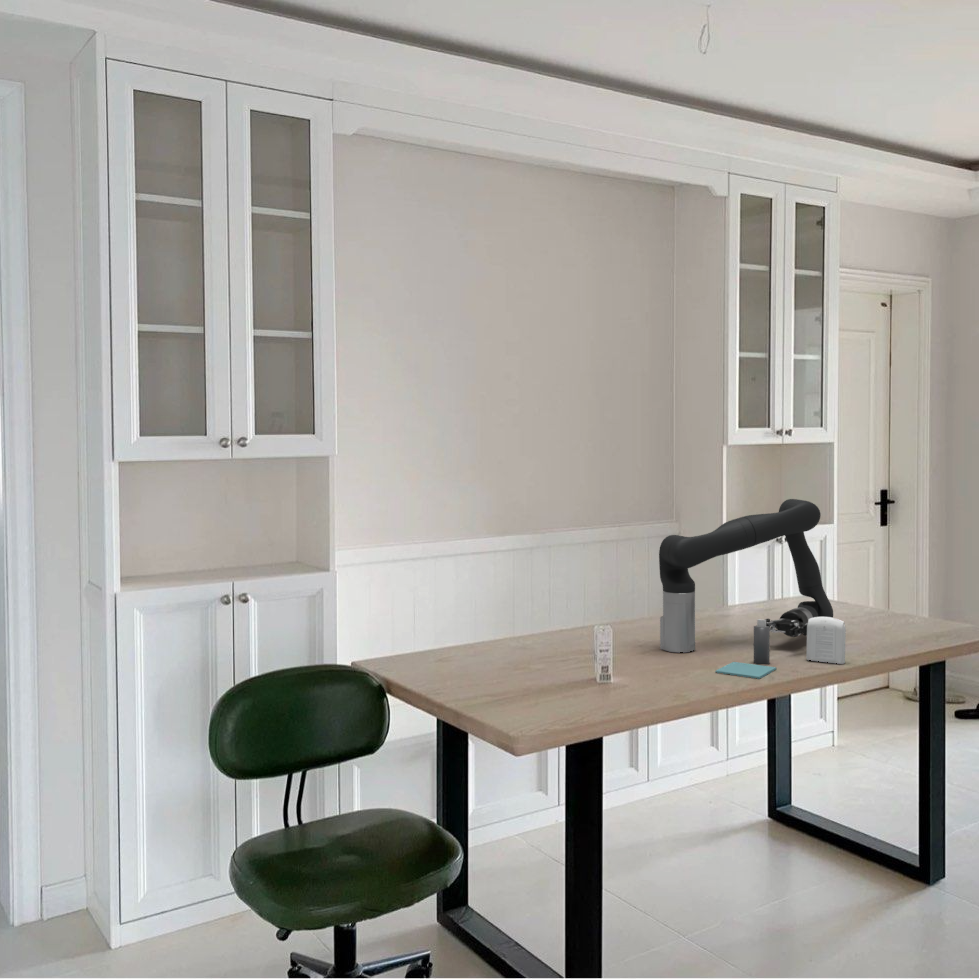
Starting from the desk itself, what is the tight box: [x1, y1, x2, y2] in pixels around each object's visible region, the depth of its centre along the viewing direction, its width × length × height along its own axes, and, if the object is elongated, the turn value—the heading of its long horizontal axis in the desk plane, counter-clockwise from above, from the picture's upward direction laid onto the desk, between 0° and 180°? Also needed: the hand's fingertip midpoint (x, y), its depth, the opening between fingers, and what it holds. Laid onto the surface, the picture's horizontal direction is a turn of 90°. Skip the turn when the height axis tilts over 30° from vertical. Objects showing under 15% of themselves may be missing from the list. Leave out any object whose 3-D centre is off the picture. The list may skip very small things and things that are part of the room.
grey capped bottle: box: [753, 618, 771, 665], centre depth 280 cm, size 4×4×12 cm
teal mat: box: [715, 661, 777, 680], centre depth 272 cm, size 12×12×1 cm
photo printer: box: [805, 617, 847, 665], centre depth 281 cm, size 10×4×12 cm, turn 60°
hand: (776, 631), depth 289 cm, fingers open, 8 cm apart
